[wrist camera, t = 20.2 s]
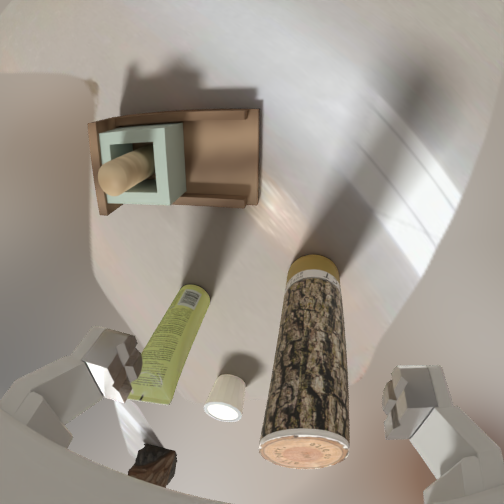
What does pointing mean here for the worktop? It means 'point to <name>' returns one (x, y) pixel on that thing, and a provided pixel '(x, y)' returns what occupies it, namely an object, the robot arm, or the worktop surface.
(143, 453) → the brown rock
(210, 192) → the wooden tray
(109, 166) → the dowel
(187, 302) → the tube
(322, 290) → the paper tube
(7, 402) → the robot arm
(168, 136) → the socket block
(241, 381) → the white short cylinder
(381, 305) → the worktop surface
